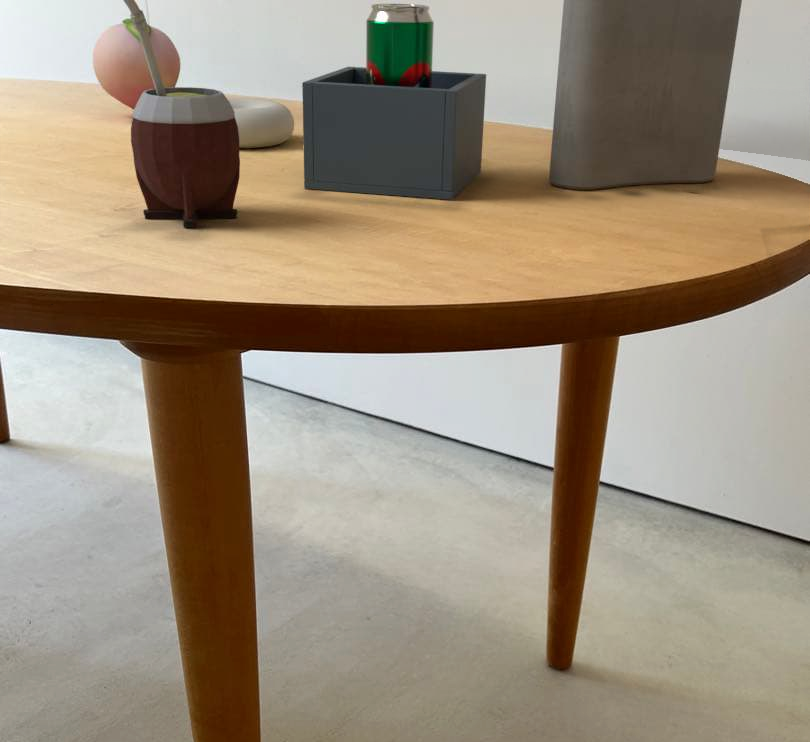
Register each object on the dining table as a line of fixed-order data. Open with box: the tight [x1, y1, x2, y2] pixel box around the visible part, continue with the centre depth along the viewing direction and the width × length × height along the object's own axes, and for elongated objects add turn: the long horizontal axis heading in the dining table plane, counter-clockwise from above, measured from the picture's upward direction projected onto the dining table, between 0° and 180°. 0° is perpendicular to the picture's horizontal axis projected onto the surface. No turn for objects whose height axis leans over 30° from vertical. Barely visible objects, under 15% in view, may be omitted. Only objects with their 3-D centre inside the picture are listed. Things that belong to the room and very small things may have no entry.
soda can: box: [365, 3, 435, 88], centre depth 86 cm, size 5×5×12 cm
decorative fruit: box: [92, 18, 181, 111], centre depth 112 cm, size 9×8×10 cm
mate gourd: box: [123, 0, 241, 229], centre depth 72 cm, size 8×8×15 cm
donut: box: [226, 97, 295, 149], centre depth 102 cm, size 10×4×10 cm
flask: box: [548, 0, 743, 191], centre depth 86 cm, size 15×6×20 cm, turn 113°
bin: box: [301, 66, 487, 201], centre depth 87 cm, size 12×12×8 cm
